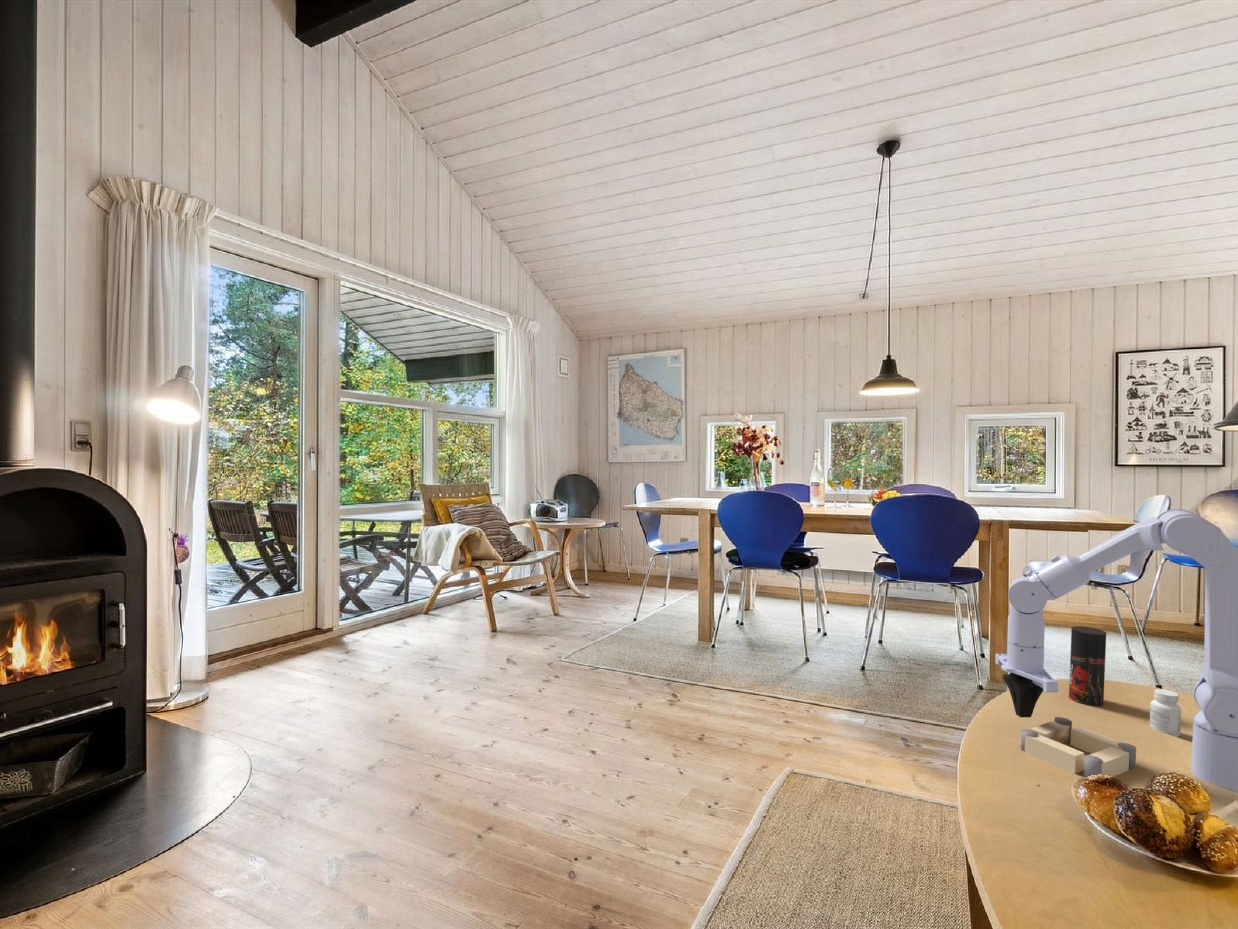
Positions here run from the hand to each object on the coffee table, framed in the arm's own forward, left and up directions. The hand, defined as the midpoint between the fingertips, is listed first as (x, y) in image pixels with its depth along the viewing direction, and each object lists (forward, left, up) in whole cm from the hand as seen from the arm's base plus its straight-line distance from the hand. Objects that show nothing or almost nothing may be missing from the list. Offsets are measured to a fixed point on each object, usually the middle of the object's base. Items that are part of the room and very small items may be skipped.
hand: (1023, 716), depth 117 cm
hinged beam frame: (-9, +1, -4) cm, 10 cm away
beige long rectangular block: (-4, -1, -3) cm, 6 cm away
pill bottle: (-10, -26, -4) cm, 29 cm away
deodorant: (+5, -29, -4) cm, 30 cm away
